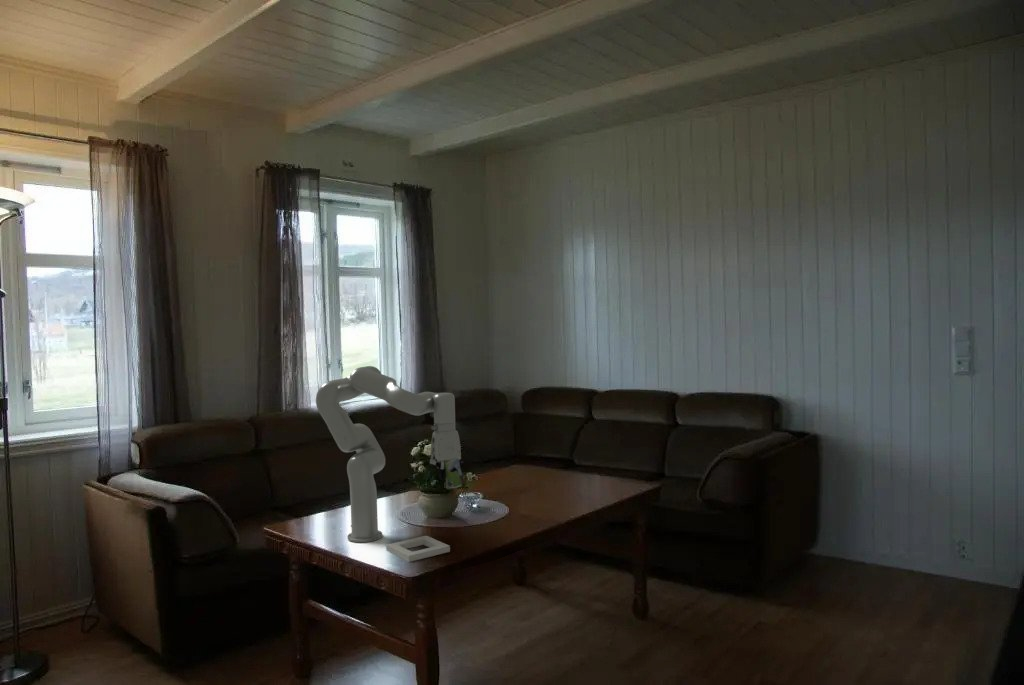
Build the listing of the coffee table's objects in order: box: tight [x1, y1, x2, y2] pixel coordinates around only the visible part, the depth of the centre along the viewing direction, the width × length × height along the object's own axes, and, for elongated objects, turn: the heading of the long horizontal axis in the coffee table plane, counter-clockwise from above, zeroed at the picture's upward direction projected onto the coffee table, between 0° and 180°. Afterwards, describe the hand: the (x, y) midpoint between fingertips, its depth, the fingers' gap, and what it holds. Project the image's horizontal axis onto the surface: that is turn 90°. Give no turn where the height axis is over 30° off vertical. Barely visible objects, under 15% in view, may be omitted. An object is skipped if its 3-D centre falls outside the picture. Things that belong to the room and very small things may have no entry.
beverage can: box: [444, 458, 465, 489], centre depth 261 cm, size 6×7×12 cm
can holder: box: [385, 535, 451, 563], centre depth 252 cm, size 16×16×2 cm
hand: (446, 478), depth 260 cm, fingers closed on beverage can
